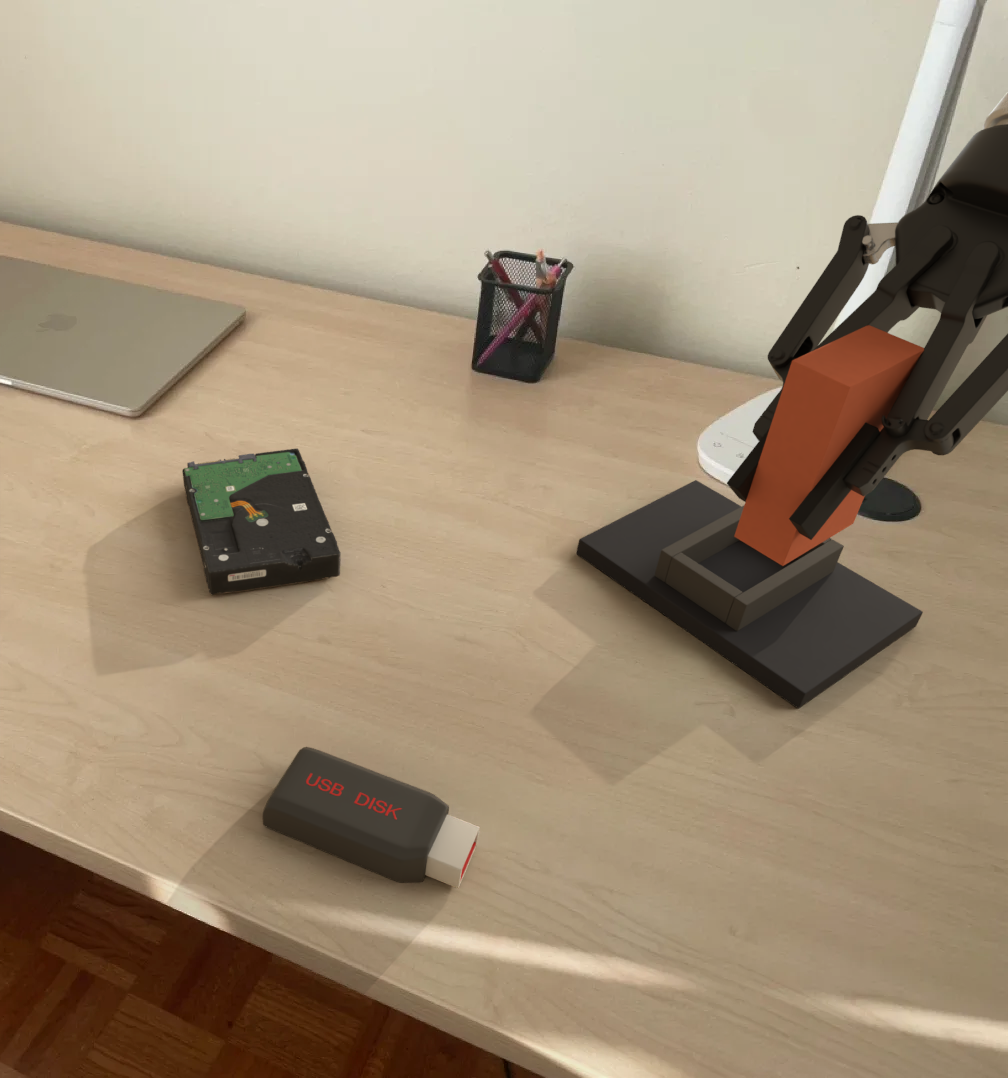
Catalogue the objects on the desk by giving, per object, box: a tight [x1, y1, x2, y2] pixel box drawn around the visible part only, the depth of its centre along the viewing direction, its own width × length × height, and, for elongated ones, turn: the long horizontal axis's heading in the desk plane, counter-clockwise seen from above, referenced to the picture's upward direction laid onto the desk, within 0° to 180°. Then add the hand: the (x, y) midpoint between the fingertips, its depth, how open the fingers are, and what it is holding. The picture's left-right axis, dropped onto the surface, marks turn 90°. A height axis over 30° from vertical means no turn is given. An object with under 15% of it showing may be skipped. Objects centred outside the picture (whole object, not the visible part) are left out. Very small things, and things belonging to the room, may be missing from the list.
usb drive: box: [262, 746, 481, 889], centre depth 62 cm, size 5×12×3 cm, turn 63°
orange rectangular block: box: [734, 325, 925, 566], centre depth 60 cm, size 3×7×12 cm, turn 125°
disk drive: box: [181, 448, 342, 596], centre depth 85 cm, size 10×3×15 cm
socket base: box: [575, 479, 924, 709], centre depth 79 cm, size 20×14×4 cm
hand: (769, 510), depth 60 cm, fingers closed on orange rectangular block, 3 cm apart
